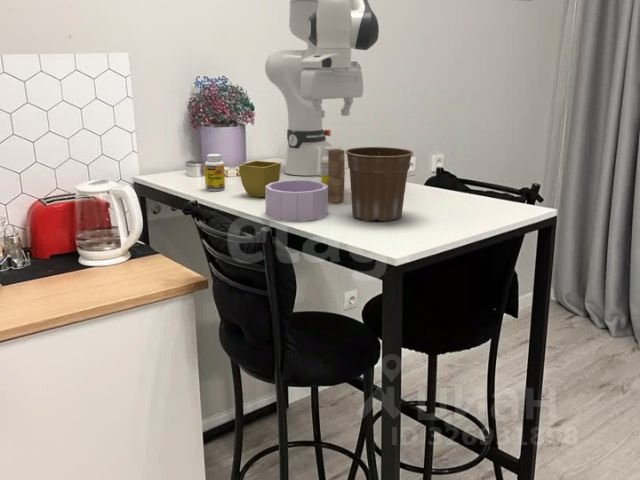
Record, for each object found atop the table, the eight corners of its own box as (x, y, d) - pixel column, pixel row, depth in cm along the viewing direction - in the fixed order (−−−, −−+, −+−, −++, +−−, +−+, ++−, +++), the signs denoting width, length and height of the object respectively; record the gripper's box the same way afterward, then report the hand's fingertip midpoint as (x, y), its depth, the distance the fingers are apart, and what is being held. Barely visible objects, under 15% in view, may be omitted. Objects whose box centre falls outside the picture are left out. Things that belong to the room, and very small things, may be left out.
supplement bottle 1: (205, 192, 185) (203, 156, 182) (206, 188, 190) (204, 153, 187) (225, 191, 185) (223, 156, 183) (225, 187, 191) (223, 153, 188)
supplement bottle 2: (345, 190, 188) (345, 146, 184) (343, 195, 182) (344, 149, 178) (322, 189, 189) (322, 145, 185) (320, 194, 182) (320, 149, 179)
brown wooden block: (335, 200, 175) (335, 149, 171) (343, 202, 173) (344, 150, 169) (327, 202, 173) (328, 150, 169) (336, 204, 171) (337, 151, 167)
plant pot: (369, 205, 170) (371, 144, 166) (422, 215, 160) (425, 150, 156) (331, 217, 158) (331, 151, 153) (386, 228, 148) (388, 158, 144)
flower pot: (238, 196, 179) (237, 164, 177) (256, 190, 187) (255, 160, 184) (265, 200, 175) (264, 167, 173) (282, 194, 183) (281, 162, 180)
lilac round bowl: (296, 203, 171) (296, 177, 169) (339, 213, 162) (339, 185, 160) (254, 213, 161) (253, 186, 159) (297, 224, 151) (297, 195, 149)
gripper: (351, 61, 172) (350, 113, 176) (296, 60, 158) (296, 118, 162) (369, 61, 168) (368, 115, 172) (314, 61, 154) (314, 119, 158)
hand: (332, 116), depth 167 cm, fingers open, 8 cm apart
